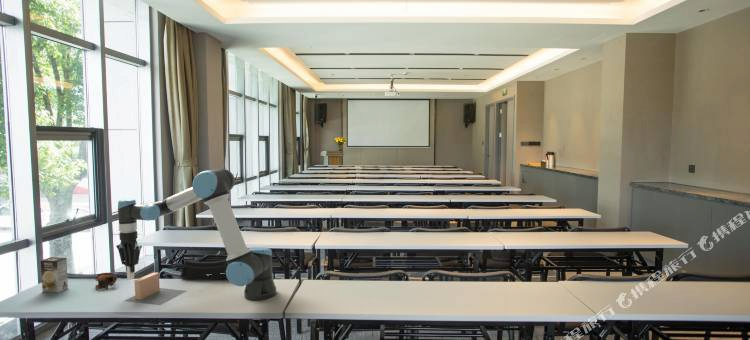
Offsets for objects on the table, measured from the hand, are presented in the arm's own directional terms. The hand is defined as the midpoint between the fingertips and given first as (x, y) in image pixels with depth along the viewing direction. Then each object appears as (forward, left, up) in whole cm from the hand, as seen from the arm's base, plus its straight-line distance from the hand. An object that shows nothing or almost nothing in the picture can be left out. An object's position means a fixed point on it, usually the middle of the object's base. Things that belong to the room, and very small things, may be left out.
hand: (130, 278), depth 205 cm
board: (-10, 0, -7) cm, 12 cm away
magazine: (-23, -29, -8) cm, 38 cm away
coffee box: (+41, +5, -8) cm, 43 cm away
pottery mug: (+21, -6, -8) cm, 23 cm away
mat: (-14, 0, -8) cm, 16 cm away
